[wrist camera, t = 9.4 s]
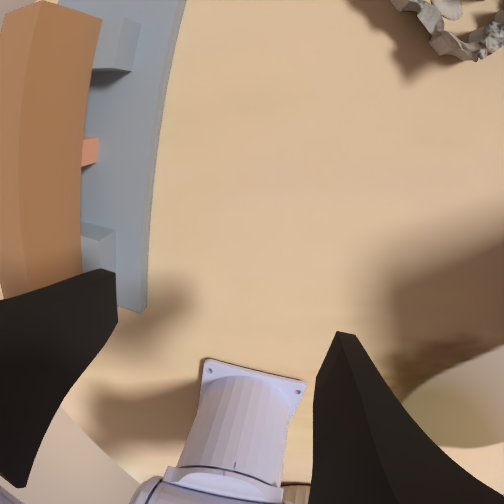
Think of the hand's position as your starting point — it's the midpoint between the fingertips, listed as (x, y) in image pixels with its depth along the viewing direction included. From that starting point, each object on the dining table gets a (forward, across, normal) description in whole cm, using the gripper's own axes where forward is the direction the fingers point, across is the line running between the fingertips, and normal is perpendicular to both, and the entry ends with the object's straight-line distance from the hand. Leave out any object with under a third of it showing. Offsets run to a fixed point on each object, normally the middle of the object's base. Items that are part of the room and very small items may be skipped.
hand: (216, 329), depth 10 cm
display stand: (+10, +12, -3) cm, 16 cm away
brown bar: (+7, +12, -3) cm, 14 cm away
